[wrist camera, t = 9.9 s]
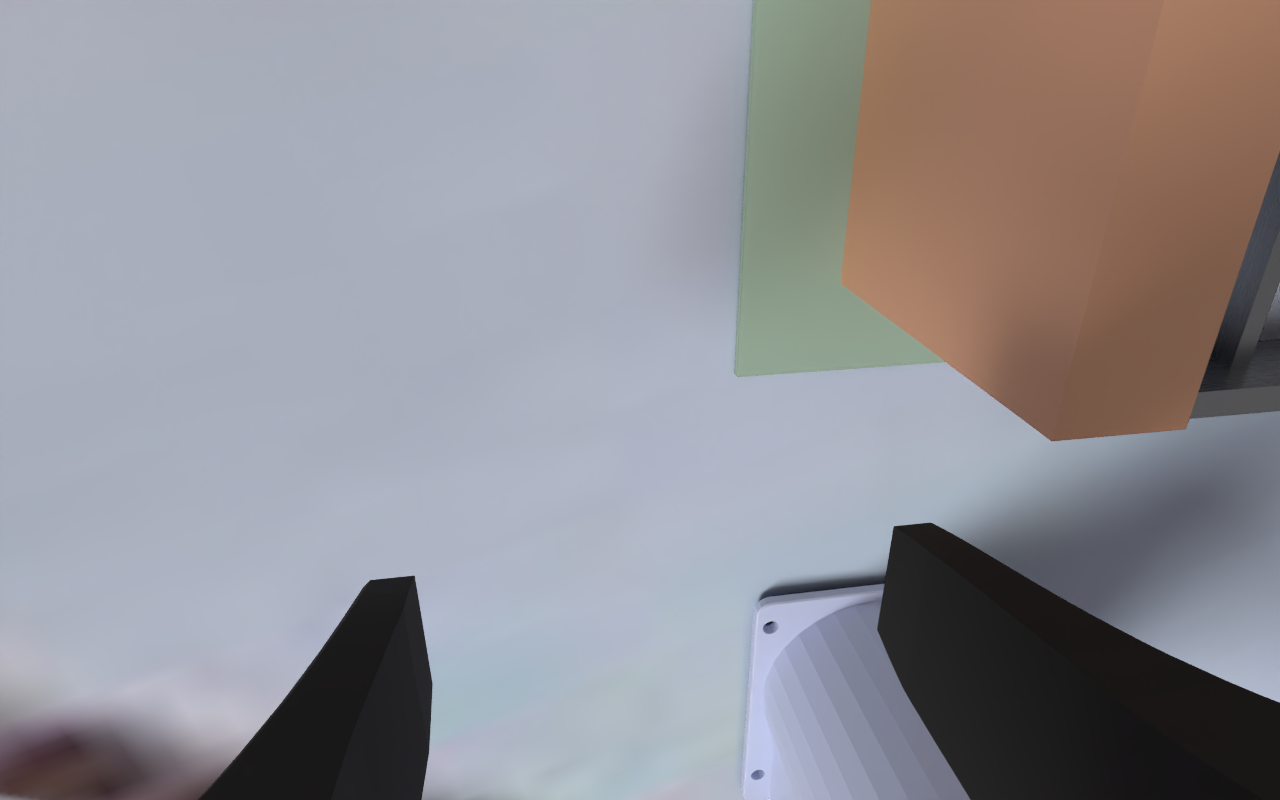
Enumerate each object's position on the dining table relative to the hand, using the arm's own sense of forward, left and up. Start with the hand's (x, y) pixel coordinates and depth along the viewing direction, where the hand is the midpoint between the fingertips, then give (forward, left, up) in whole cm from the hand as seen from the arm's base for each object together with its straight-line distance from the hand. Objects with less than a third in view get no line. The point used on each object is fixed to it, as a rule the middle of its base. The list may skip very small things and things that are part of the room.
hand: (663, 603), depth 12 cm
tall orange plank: (+5, -8, -10) cm, 14 cm away
